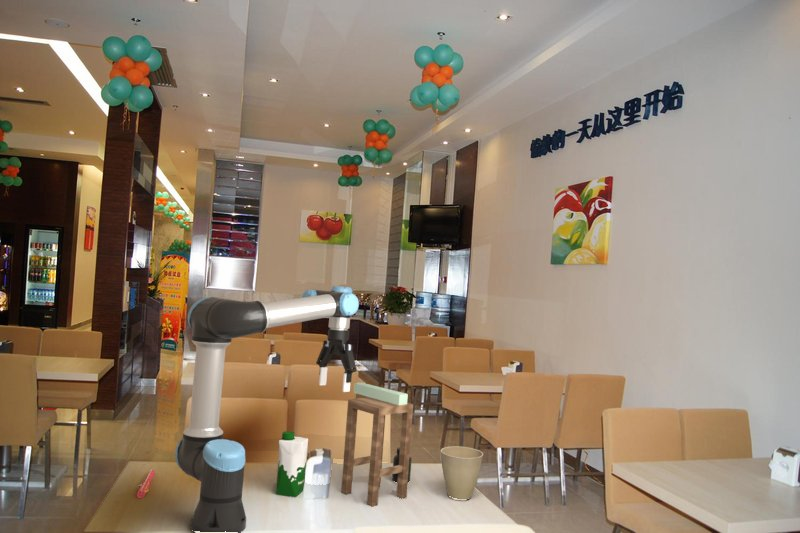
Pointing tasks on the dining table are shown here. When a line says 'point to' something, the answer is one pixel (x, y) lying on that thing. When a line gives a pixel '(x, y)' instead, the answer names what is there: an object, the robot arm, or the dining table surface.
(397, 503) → the dining table surface
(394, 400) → the green block
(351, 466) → the walnut stool
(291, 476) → the milk carton
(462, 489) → the plant pot
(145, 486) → the red long bar
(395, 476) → the supplement bottle
